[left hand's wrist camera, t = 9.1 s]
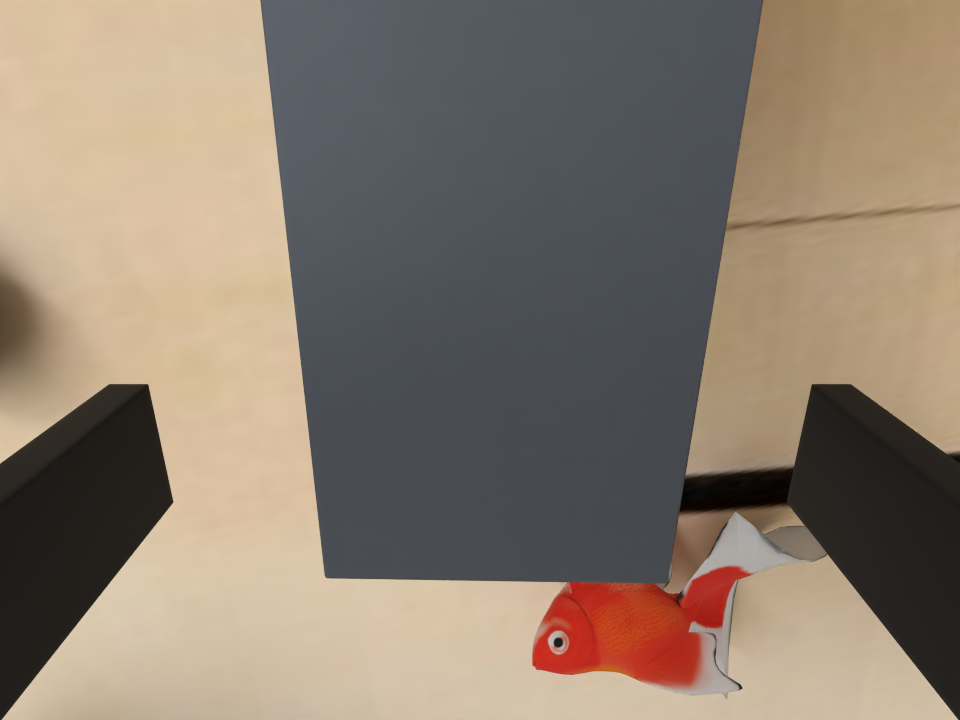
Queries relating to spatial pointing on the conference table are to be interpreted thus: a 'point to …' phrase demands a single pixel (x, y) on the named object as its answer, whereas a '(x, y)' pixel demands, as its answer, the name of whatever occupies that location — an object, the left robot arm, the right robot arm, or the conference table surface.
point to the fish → (666, 616)
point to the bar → (504, 272)
